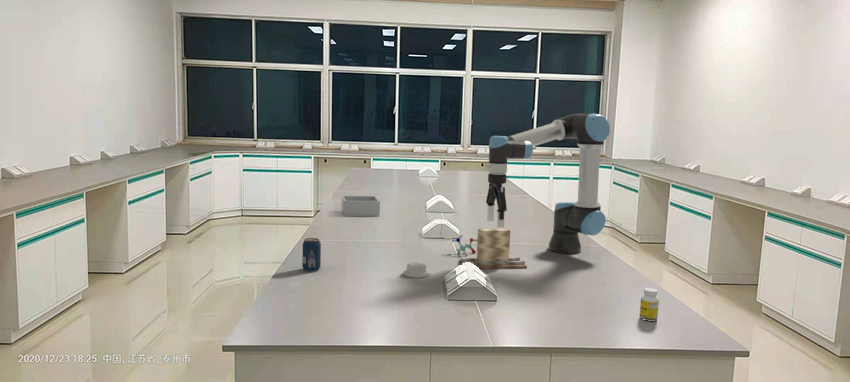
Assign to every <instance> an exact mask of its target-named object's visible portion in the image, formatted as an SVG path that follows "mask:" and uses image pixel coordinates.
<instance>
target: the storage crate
mask: <svg viewBox="0 0 850 382" xmlns="http://www.w3.org/2000/svg"><path fill="white" fill-rule="evenodd" d="M380 208H381V201H380V200H379V198H378V197H377V196H376V195H375V196H374V195H341V212H343V213H342V215H343V217H380V212H381V209H380Z"/></svg>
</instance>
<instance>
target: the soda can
mask: <svg viewBox="0 0 850 382" xmlns="http://www.w3.org/2000/svg"><path fill="white" fill-rule="evenodd" d="M321 247H322V243H321V241H320V239H319V238H314V237H309V238H305V239H304V241H303V242H302V260H301V261H302V263H301V264H302V265H301V267H302V269H303V271H305V272H310V273H311V272H318V271H319V270H320V269H321V259H322V257H321V256H322V255H321V254H322V253H321V251H322V249H321Z"/></svg>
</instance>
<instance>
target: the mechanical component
mask: <svg viewBox="0 0 850 382" xmlns="http://www.w3.org/2000/svg"><path fill="white" fill-rule="evenodd" d="M429 275H430V271H429V270H428V269H427V264H426V263H423V262H420V261H412V262H408V263H407V264H406V268H405V269H404V270H403V276H406V277H409V278H413V279H414V278H417V279H418V278H419V279H420V278H427V277H429Z"/></svg>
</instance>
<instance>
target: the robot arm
mask: <svg viewBox="0 0 850 382" xmlns="http://www.w3.org/2000/svg"><path fill="white" fill-rule="evenodd" d="M610 132H611V126H610V122H609V120H608V119H607V118H606V117H605V116H604V115H602V114H598V113H578V112H577V113H573V114H568V115H566V116H564V117H560V118H558V119H556V118H555V119H554V120H553V121H552V122H551V123H548V124H545V125H542V126H538V127H534V128H531V129H529V130H525V131H522V132H519V133H515V134H512V135H509V136H505V135H492V136H491V137H490V138H489V143H488V165H487V168H488V174H487V175H488V177H487V182H488V183H489V184H488V191H487V195H486V201H485V203H486V205H487V210H486V211H487V213H486V214H487V215H486V222H495V221H494V220H495V219H494V218H495V206H496V204H497V210H496V212H497V215H496V216H497V217H496V228H504V226H505V212H506V211H508V208H507V200H506V187H505V186H503V185H504V184H506V183H507V173H508V160H515V159H517V160H519V159H520V160H525V159H530V158H531V157H532V155H533V153H534V147H536V146H540V145H543V144H546V143H548V142H549V143H550V142H552V141H555V140H557V141H561V140H567V139H568V140H571V139H572V140H576V145H577V147H578V148H579V164H578V184H577V185H578V188H577V190H578V191H577V201H568V202H567V201H566V202H564V201H563V202H562V201H561V202H557V203H555V206H554V212H553V213H554V214H553V215H554V216H553V231H552V234H551V237H550V239H549V243H548V247H547V248H548V249H547V250H549V251H551V252H554V253H559V254H560V253H561V254H579V253H581V252H582V245H581V242H580V237H579V234H582V235H584V236H590V237H591V236H597V235H598V234H599V233H601V231H603V229H604V228H605V225H606V218H607V217H606V215H605V214H604V212H602V211H601V209H602V208H601V204H600V203H599V200H598V199H599V198H598V196H599V176H600V175H599V174H600V155H601V154H600V152H601V148H602V147H603V146H604V144H605V141H606V140H607V139H608V137H609V135H610V134H611V133H610ZM495 201H496V204H495Z"/></svg>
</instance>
